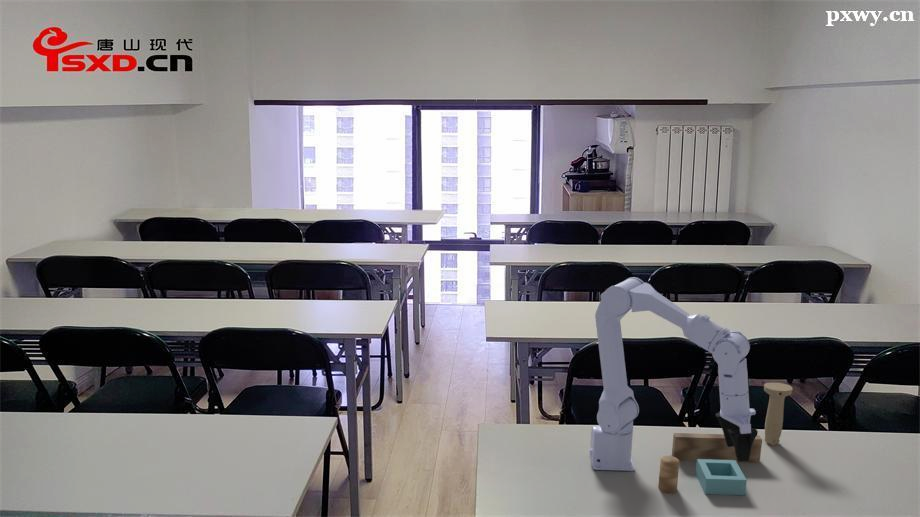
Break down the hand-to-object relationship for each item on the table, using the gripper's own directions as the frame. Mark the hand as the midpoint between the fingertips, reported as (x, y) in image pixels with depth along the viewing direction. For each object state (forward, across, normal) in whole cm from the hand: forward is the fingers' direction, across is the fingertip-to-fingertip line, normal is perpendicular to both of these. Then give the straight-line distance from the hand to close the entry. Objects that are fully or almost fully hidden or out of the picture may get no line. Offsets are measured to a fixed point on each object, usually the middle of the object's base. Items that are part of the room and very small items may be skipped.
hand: (737, 453), depth 170 cm
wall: (+10, +20, 0) cm, 22 cm away
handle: (+12, +29, -16) cm, 35 cm away
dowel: (+10, +6, +14) cm, 18 cm away
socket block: (+11, +9, +2) cm, 14 cm away
